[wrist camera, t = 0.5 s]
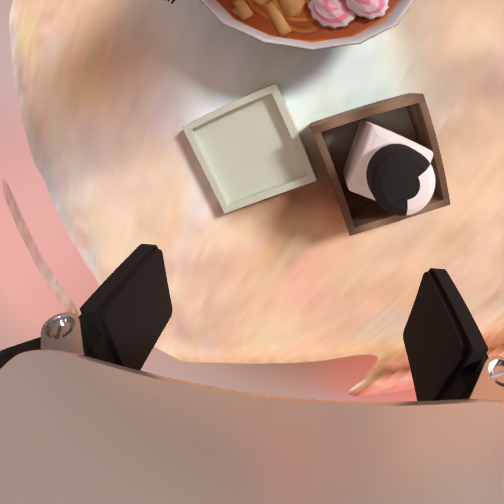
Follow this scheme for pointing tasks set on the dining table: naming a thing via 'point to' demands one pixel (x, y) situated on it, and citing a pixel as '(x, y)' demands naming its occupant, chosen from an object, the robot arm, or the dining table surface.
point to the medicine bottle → (389, 170)
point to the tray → (250, 149)
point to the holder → (426, 137)
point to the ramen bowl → (309, 20)
